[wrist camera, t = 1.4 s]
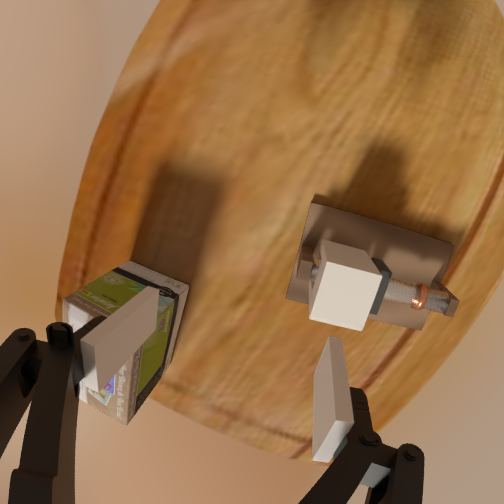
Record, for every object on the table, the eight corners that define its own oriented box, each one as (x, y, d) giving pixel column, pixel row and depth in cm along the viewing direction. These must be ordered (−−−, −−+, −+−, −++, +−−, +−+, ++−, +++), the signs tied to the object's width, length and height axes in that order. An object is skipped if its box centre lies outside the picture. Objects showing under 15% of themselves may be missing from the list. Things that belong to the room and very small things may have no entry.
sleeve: (321, 238, 33) (327, 261, 25) (364, 250, 33) (382, 276, 25) (308, 284, 35) (309, 318, 27) (350, 294, 34) (361, 331, 26)
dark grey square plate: (372, 257, 32) (381, 270, 28) (381, 259, 32) (392, 273, 28) (359, 295, 34) (366, 312, 29) (368, 297, 34) (376, 315, 29)
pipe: (314, 251, 32) (315, 259, 30) (443, 286, 31) (453, 295, 28) (307, 277, 33) (307, 286, 31) (434, 309, 32) (443, 319, 29)
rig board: (310, 201, 36) (312, 209, 29) (450, 243, 34) (476, 258, 27) (286, 295, 39) (281, 321, 32) (419, 327, 37) (436, 354, 30)
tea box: (128, 257, 42) (59, 296, 28) (191, 284, 41) (139, 339, 27) (116, 340, 46) (63, 392, 32) (170, 367, 45) (128, 430, 31)
